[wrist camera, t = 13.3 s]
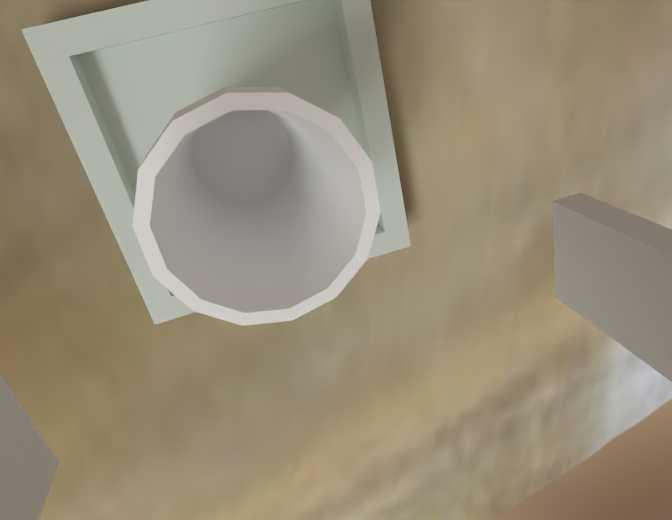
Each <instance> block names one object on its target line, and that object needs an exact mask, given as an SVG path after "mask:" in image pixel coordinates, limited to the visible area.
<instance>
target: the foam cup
mask: <svg viewBox="0 0 672 520" xmlns="http://www.w3.org/2000/svg"><path fill="white" fill-rule="evenodd" d="M380 213H381V210H380V204H379V199H378V193H377V187H376V181H375V176H374V170H373V164H372V161H371V160H370V158H369V157H368V156H367V154H366V153H365V152H364V150H363V149H362V148H361V146H360V145H359V143H358V142H357V141H356V139H355V138H354V137H353V135H352V134H351V133H350V131H349V130H348V129H347V127H346V126H345V125H344V123H343V122H342V121H341V119H340V118H338V117H337V116H335V115H333V114H332V113H330V112H328V111H326V110H325V109H323V108H321V107H319V106H317V105H315V104H313V103H311V102H309V101H307V100H305V99H303V98H301V97H299V96H297V95H295V94H293V93H291V92H289V91H287V90H285V89H283V88H281V87H223V88H221V89H220V90H218V91H216V92H214V93H212V94H210V95H208V96H206V97H204V98H202V99H200V100H198V101H196V102H194V103H192V104H190V105H189V106H187V107H185V108H183V109H181V110H179V111H177V112H175V114H174V115H173V117H172V118H171V120H170V121H169V123H168V124H167V125H166V127H165V128H164V130H163V131H162V133H161V134H160V136H159V137H158V138H157V140H156V141H155V143H154V144H153V146H152V147H151V149H150V150H149V151H148V153H147V154H146V156H145V158H144V159H143V161H142V163H141V165H140V167H139V169H138V175H137V185H136V194H135V204H134V214H133V224H132V227H133V230H134V232H135V234H136V237H137V239H138V242H139V244H140V246H141V249H142V251H143V254H144V256H145V258H146V261H147V263H148V266H149V268H150V270H151V273H152V275H153V277H154V278H155V279H157V280H158V281H159V282H160V283H161V284H162V285H163V286H165V287H166V288H167V289H168V290H169V291H170V292H172V293H173V294H174V295H175V296H176V297H177V298H179V299H180V300H181V301H182V302H183V303H184V304H185V305H187V306H188V307H189V308H190V309H191V310H192V311H195V312H198V313H201V314H205V315H208V316H211V317H215V318H218V319H222V320H225V321H228V322H232V323H235V324H238V325H242V326H244V325H254V324H263V323H273V322H283V321H292V320H294V319H296V318H298V317H300V316H302V315H304V314H306V313H308V312H309V311H311V310H313V309H315V308H317V307H319V306H321V305H323V304H325V303H326V302H328V301H330V300H332V299H334V298H336V297H337V296H338V295H339V293H340V292H341V291H342V290H343V289H344V287H345V286H346V285H347V284H348V283H349V281H350V280H351V279H352V278H353V276H354V275H355V274H356V273H357V272H358V270H359V269H360V268H361V267H362V266H363V264H364V263H365V262H366V261H367V260H368V256H369V252H370V249H371V245H372V242H373V238H374V235H375V231H376V227H377V224H378V220H379V217H380Z"/></svg>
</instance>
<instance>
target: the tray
mask: <svg viewBox="0 0 672 520" xmlns="http://www.w3.org/2000/svg"><path fill="white" fill-rule="evenodd" d="M21 30H22V33H23V35H24V37H25V39H26V42H27V44H28V46H29V48H30V50H31V53H32V55H33V57H34V59H35V61H36V64H37V66H38V68H39V70H40V72H41V75H42V77H43V79H44V81H45V83H46V86H47V88H48V90H49V92H50V94H51V97H52V99H53V101H54V103H55V105H56V108H57V110H58V112H59V114H60V116H61V119H62V121H63V123H64V125H65V128H66V130H67V132H68V134H69V136H70V139H71V141H72V143H73V145H74V147H75V150H76V152H77V154H78V156H79V158H80V161H81V163H82V165H83V167H84V169H85V172H86V174H87V176H88V178H89V180H90V183H91V185H92V187H93V189H94V191H95V194H96V196H97V198H98V200H99V202H100V205H101V207H102V209H103V211H104V214H105V216H106V218H107V220H108V222H109V225H110V227H111V229H112V231H113V233H114V236H115V238H116V240H117V242H118V244H119V247H120V249H121V251H122V253H123V255H124V258H125V260H126V262H127V264H128V266H129V269H130V271H131V273H132V275H133V277H134V280H135V282H136V284H137V286H138V288H139V291H140V293H141V295H142V297H143V300H144V302H145V304H146V306H147V308H148V311H149V313H150V315H151V317H152V319H153V322H154V324H155V325H156V324H159V323H162V322H166V321H169V320H172V319H175V318H179V317H182V316H185V315H188V314H192V313H195V311H192V310H191V309H190V308H189V307H188V306H187V305H185V304H184V303H183V302H182V301H181V300H180V299H179V298H177V297H176V296H175V295H174V294H173V293H172V292H170V291H169V290H168V289H167V288H166V287H165V286H163V285H162V284H161V283H160V282H159V281H158V280H157V279H155V278H154V277H153V275H152V273H151V270H150V268H149V266H148V263H147V261H146V258H145V256H144V254H143V251H142V249H141V246H140V244H139V242H138V239H137V237H136V234H135V232H134V230H133V227H132V224H133V214H134V204H135V194H136V185H137V175H138V169H139V167H140V165H141V163H142V161H143V159H144V158H145V156H146V154H147V153H148V151H149V150H150V149H151V147H152V146H153V144H154V143H155V141H156V140H157V138H158V137H159V136H160V134H161V133H162V131H163V130H164V128H165V127H166V125H167V124H168V123H169V121H170V120H171V118H172V117H173V115H174V114H175V112H177V111H179V110H181V109H183V108H185V107H187V106H189V105H190V104H192V103H194V102H196V101H198V100H200V99H202V98H204V97H206V96H208V95H210V94H212V93H214V92H216V91H218V90H220V89H221V88H223V87H281V88H283V89H285V90H287V91H289V92H291V93H293V94H295V95H297V96H299V97H301V98H303V99H305V100H307V101H309V102H311V103H313V104H315V105H317V106H319V107H321V108H323V109H325V110H326V111H328V112H330V113H332V114H333V115H335V116H337V117H338V118H340V119H341V121H342V122H343V123H344V125H345V126H346V127H347V129H348V130H349V131H350V133H351V134H352V135H353V137H354V138H355V139H356V141H357V142H358V143H359V145H360V146H361V148H362V149H363V150H364V152H365V153H366V154H367V156H368V157H369V158H370V160H371V161H372V164H373V170H374V176H375V181H376V187H377V193H378V199H379V204H380V210H381V213H380V217H379V220H378V224H377V227H376V231H375V235H374V238H373V242H372V245H371V249H370V252H369V256H368V259H371V258H374V257H377V256H380V255H384V254H387V253H390V252H393V251H397V250H400V249H403V248H406V247H410V246H411V244H410V238H409V232H408V226H407V220H406V214H405V207H404V201H403V195H402V189H401V183H400V177H399V171H398V165H397V159H396V153H395V147H394V141H393V135H392V129H391V123H390V116H389V110H388V104H387V98H386V92H385V86H384V80H383V74H382V68H381V62H380V56H379V50H378V44H377V38H376V31H375V25H374V19H373V13H372V7H371V1H370V0H147V1H143V2H139V3H134V4H130V5H126V6H121V7H117V8H113V9H108V10H104V11H100V12H95V13H91V14H86V15H82V16H78V17H73V18H69V19H65V20H60V21H56V22H52V23H47V24H43V25H38V26H34V27H30V28H25V29H21Z"/></svg>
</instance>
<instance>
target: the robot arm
mask: <svg viewBox="0 0 672 520" xmlns="http://www.w3.org/2000/svg"><path fill="white" fill-rule="evenodd" d="M553 233H554V276H555V297H557V298H558V299H559V300H561V301H562V302H563V303H565V304H566V305H568V306H569V307H570V308H572V309H573V310H574V311H576V312H577V313H578V314H580V315H581V316H583V317H584V318H585V319H587V320H588V321H589V322H591V323H592V324H594V325H595V326H596V327H598V328H599V329H600V330H602V331H603V332H604V333H606V334H607V335H609V336H610V337H611V338H613V339H614V340H615V341H617V342H618V343H619V344H621V345H622V346H624V347H625V348H626V349H628V350H629V351H630V352H632V353H633V354H635V355H636V356H637V357H639V358H640V359H641V360H643V361H644V362H645V363H647V364H648V365H650V366H651V367H652V368H654V369H655V370H656V371H658V372H659V373H660V374H662V375H663V376H665V377H666V378H667V379H669V380H670V381H671V382H672V230H671V229H669V228H666V227H664V226H661V225H659V224H656V223H654V222H651V221H649V220H646V219H644V218H641V217H639V216H637V215H634V214H632V213H629V212H627V211H624V210H622V209H619V208H617V207H614V206H612V205H609V204H607V203H605V202H602V201H600V200H597V199H595V198H592V197H590V196H587V195H585V194H582V193H578V194H575V195H572V196H569V197H565V198H562V199H559V200H556V201H553ZM57 465H58V461H57V459H56V457H55V456H54V454H53V453H52V451H51V450H50V448H49V447H48V445H47V444H46V442H45V441H44V439H43V438H42V436H41V434H40V433H39V431H38V430H37V428H36V427H35V425H34V424H33V422H32V421H31V419H30V418H29V416H28V415H27V413H26V412H25V410H24V408H23V407H22V405H21V404H20V402H19V401H18V399H17V398H16V396H15V395H14V393H13V392H12V390H11V389H10V387H9V385H8V384H7V382H6V381H5V379H4V378H3V376H2V375H1V373H0V520H39V517H40V514H41V511H42V508H43V505H44V502H45V500H46V497H47V494H48V491H49V488H50V485H51V482H52V479H53V477H54V474H55V471H56V468H57Z"/></svg>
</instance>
